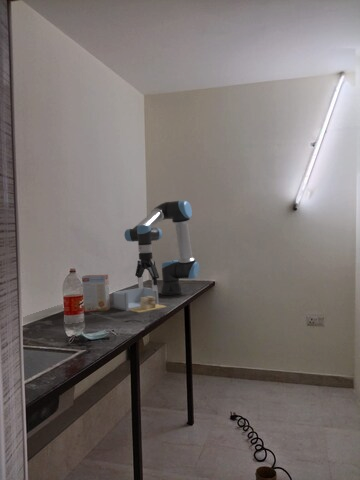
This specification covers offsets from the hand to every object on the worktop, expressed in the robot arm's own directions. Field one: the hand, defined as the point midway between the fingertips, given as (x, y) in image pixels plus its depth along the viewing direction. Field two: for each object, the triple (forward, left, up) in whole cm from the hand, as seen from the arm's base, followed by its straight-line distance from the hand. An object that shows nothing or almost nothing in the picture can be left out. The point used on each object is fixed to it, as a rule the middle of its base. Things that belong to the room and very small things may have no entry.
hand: (147, 289), depth 220 cm
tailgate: (0, -5, -11) cm, 12 cm away
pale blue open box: (0, -13, -12) cm, 17 cm away
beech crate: (+1, 0, -10) cm, 10 cm away
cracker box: (+20, -23, -12) cm, 33 cm away
